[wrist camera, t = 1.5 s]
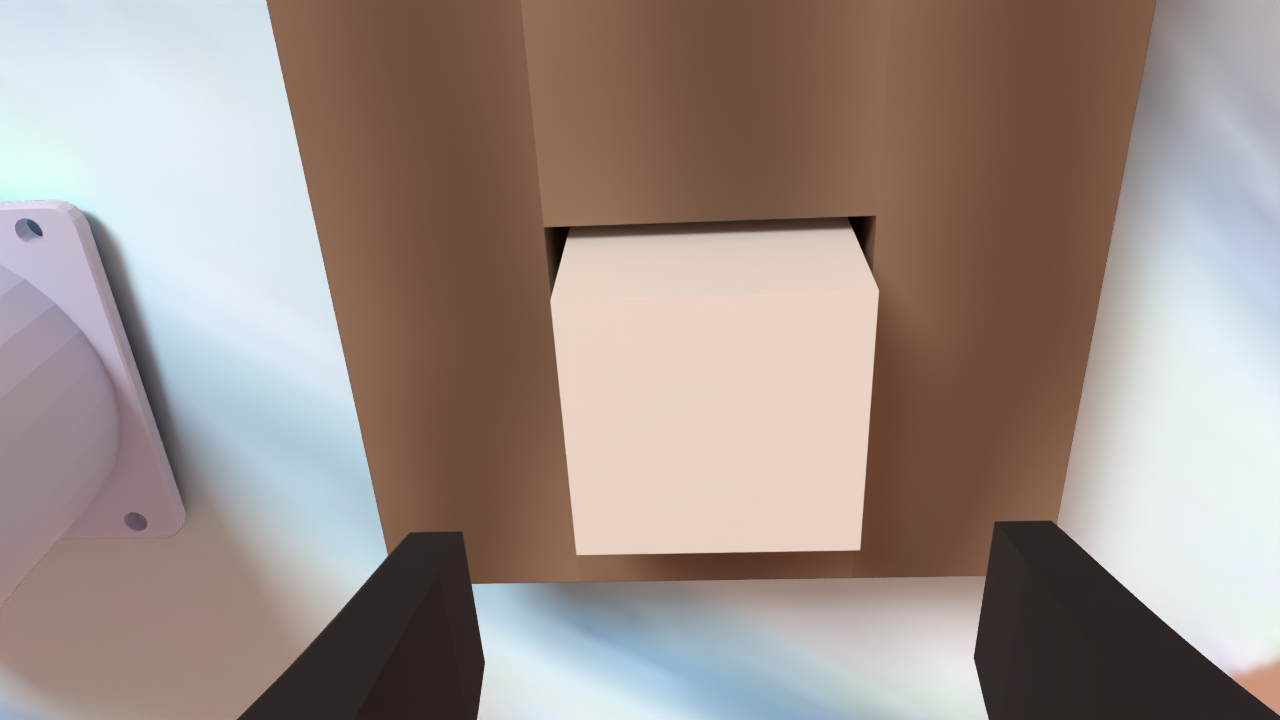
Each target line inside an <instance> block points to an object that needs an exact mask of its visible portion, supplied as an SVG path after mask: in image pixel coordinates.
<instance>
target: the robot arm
mask: <svg viewBox="0 0 1280 720" xmlns="http://www.w3.org/2000/svg"><path fill="white" fill-rule="evenodd" d="M27 219H30V220H33V221H34V222H35V223H37V224H38V225H39V226H40V228H41V230H42V232H43V236H38V235H37V234H35V233H34V232H32V231H31V229H30V228H29V226H28V225H27ZM134 513H139V514H140V515H142V516H143V517H144V518H145V519H146V520H143V519H140V518H139V517H137V516H136V515H135V514H134ZM185 519H186V512H185V509H184V506H183V503H182V500H181V497H180V494H179V491H178V488H177V485H176V482H175V479H174V476H173V473H172V470H171V467H170V464H169V461H168V458H167V455H166V452H165V449H164V446H163V443H162V440H161V437H160V434H159V431H158V428H157V425H156V422H155V419H154V416H153V413H152V410H151V407H150V404H149V401H148V398H147V395H146V393H145V390H144V387H143V384H142V381H141V378H140V375H139V372H138V369H137V366H136V363H135V360H134V357H133V354H132V351H131V348H130V345H129V342H128V339H127V336H126V333H125V330H124V327H123V324H122V321H121V318H120V315H119V312H118V309H117V306H116V303H115V300H114V297H113V294H112V291H111V288H110V285H109V282H108V279H107V276H106V273H105V270H104V267H103V264H102V261H101V258H100V255H99V252H98V249H97V246H96V244H95V241H94V238H93V235H92V232H91V229H90V226H89V223H88V221H87V219H86V217H85V216H84V214H83V213H82V212H81V211H80V210H79V209H78V208H77V207H76V206H74V205H72V204H70V203H68V202H66V201H61V200H33V201H6V202H0V606H1V605H2V604H3V603H4V602H5V601H6V600H7V598H8V597H9V596H10V595H11V594H12V593H13V591H14V590H15V589H16V588H17V587H18V586H19V585H20V583H21V582H22V581H23V580H24V579H25V578H26V576H27V575H28V574H29V573H30V572H31V571H32V569H33V568H34V567H35V566H36V565H37V564H38V563H39V561H40V560H41V559H42V558H43V557H44V556H45V554H46V553H47V552H48V551H49V550H50V549H51V548H52V546H53V545H54V544H55V543H56V542H57V541H58V539H107V538H161V537H169V536H173V535H174V534H176V533H177V532H178V531H179V529H180V528H181V527H182V525H183V524H184V521H185ZM974 660H975V664H976V669H977V673H978V677H979V681H980V686H981V690H982V694H983V698H984V702H985V706H986V710H987V714H988V718H989V720H1280V716H1279V715H1278V714H1276V713H1275V712H1274V711H1272V710H1271V709H1270V708H1269V707H1267V706H1266V705H1265V704H1263V703H1262V702H1261V701H1260V700H1258V699H1257V698H1256V697H1254V696H1253V695H1252V694H1251V693H1249V692H1248V691H1247V690H1245V689H1244V688H1243V687H1242V686H1240V685H1239V684H1238V683H1236V682H1235V681H1234V680H1233V679H1232V678H1230V677H1229V676H1228V675H1227V674H1225V673H1224V672H1223V671H1222V670H1221V669H1219V668H1218V667H1217V666H1216V665H1214V664H1213V663H1212V662H1211V661H1209V660H1208V659H1207V658H1206V657H1205V656H1203V655H1202V654H1201V653H1200V652H1199V651H1198V650H1196V649H1195V648H1194V647H1193V646H1192V645H1190V644H1189V643H1188V642H1187V641H1186V640H1185V639H1183V638H1182V637H1181V636H1180V635H1179V634H1178V633H1176V632H1175V631H1174V630H1173V629H1172V628H1171V627H1169V626H1168V625H1167V624H1166V623H1165V622H1164V621H1162V620H1161V619H1160V618H1159V617H1158V616H1157V615H1156V614H1154V613H1153V612H1152V611H1151V610H1150V609H1149V608H1148V607H1147V606H1145V605H1144V604H1143V603H1142V602H1141V601H1140V600H1139V599H1138V598H1136V597H1135V596H1134V595H1133V594H1132V593H1131V592H1130V591H1129V590H1128V589H1126V588H1125V587H1124V586H1123V585H1122V584H1121V583H1120V582H1119V581H1118V580H1116V579H1115V578H1114V577H1113V576H1112V575H1111V574H1110V573H1109V572H1108V571H1107V570H1105V569H1104V568H1103V567H1102V566H1101V565H1100V564H1099V563H1098V562H1097V561H1096V560H1094V559H1093V558H1092V557H1091V556H1090V555H1089V554H1088V553H1087V552H1086V551H1085V550H1083V549H1082V548H1081V547H1080V546H1079V545H1078V544H1077V543H1076V542H1075V541H1074V540H1072V539H1071V538H1070V537H1069V536H1068V535H1067V534H1066V533H1065V532H1064V531H1062V530H1061V529H1060V528H1059V527H1058V526H1057V525H1056V524H1054V523H1053V522H1052V521H1051V520H1049V521H995V522H994V529H993V535H992V542H991V549H990V555H989V562H988V568H987V575H986V581H985V588H984V594H983V601H982V607H981V614H980V621H979V627H978V634H977V640H976V647H975V653H974ZM484 665H485V661H484V655H483V649H482V644H481V638H480V632H479V626H478V620H477V614H476V608H475V603H474V597H473V591H472V585H471V579H470V573H469V567H468V562H467V556H466V550H465V544H464V538H463V532H462V531H453V532H410V533H409V534H408V535H407V536H406V537H405V538H404V539H403V540H402V541H401V542H400V543H399V544H398V545H397V547H396V548H395V549H394V550H393V551H392V552H391V553H390V555H389V556H388V557H387V558H386V559H385V560H384V562H383V563H382V564H381V565H380V566H379V567H378V568H377V570H376V571H375V572H374V573H373V574H372V575H371V577H370V578H369V579H368V580H367V581H366V582H365V584H364V585H363V586H362V587H361V588H360V589H359V591H358V592H357V593H356V594H355V595H354V596H353V597H352V599H351V600H350V601H349V602H348V603H347V604H346V605H345V607H344V608H343V609H342V610H341V611H340V612H339V613H338V615H337V616H336V617H335V618H334V619H333V620H332V621H331V622H330V623H329V624H328V626H327V627H326V628H325V629H324V630H323V631H322V632H321V633H320V634H319V635H318V636H317V638H316V639H315V640H314V641H313V642H312V643H311V644H310V645H309V646H308V647H307V648H306V650H305V651H304V652H303V653H302V654H301V655H300V656H299V657H298V658H297V659H296V660H295V662H294V663H293V664H292V665H291V666H290V667H289V668H288V669H287V670H286V671H285V672H284V673H283V674H282V675H281V676H280V677H279V678H278V679H277V680H276V681H275V682H274V683H273V684H272V685H271V686H270V687H269V688H268V689H267V690H266V691H265V692H264V693H263V694H262V695H261V696H260V697H259V698H258V699H257V700H256V701H255V702H254V703H253V704H252V705H251V706H250V707H249V708H248V709H247V710H246V711H245V712H244V713H243V714H242V715H241V716H240V717H239V718H238V719H237V720H477V715H478V709H479V702H480V694H481V687H482V680H483V673H484Z"/></svg>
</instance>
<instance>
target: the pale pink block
mask: <svg viewBox="0 0 1280 720" xmlns="http://www.w3.org/2000/svg"><path fill="white" fill-rule="evenodd" d="M878 298H879V289H878V287H877V285H876V282H875V280H874V278H873V275H872V273H871V271H870V268H869V266H868V264H867V261H866V259H865V257H864V254H863V252H862V250H861V247H860V245H859V243H858V240H857V238H856V236H855V233H854V231H853V229H852V226H851V224H850V222H849V220H848V217H821V218H793V219H764V220H736V221H707V222H678V223H650V224H621V225H593V226H570V229H569V232H568V236H567V240H566V244H565V247H564V251H563V255H562V259H561V262H560V266H559V270H558V274H557V277H556V281H555V285H554V289H553V292H552V296H551V300H550V303H551V312H552V322H553V332H554V341H555V351H556V361H557V371H558V380H559V390H560V400H561V410H562V419H563V429H564V439H565V449H566V458H567V468H568V478H569V487H570V497H571V507H572V517H573V526H574V536H575V546H576V555H613V554H672V553H731V552H789V551H848V550H860V546H861V532H862V518H863V504H864V491H865V477H866V463H867V449H868V435H869V422H870V408H871V394H872V380H873V366H874V353H875V339H876V325H877V311H878Z"/></svg>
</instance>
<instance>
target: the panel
mask: <svg viewBox="0 0 1280 720" xmlns="http://www.w3.org/2000/svg"><path fill="white" fill-rule="evenodd" d="M266 1H267V6H268V10H269V15H270V19H271V24H272V29H273V33H274V38H275V42H276V47H277V51H278V56H279V60H280V65H281V70H282V74H283V79H284V83H285V88H286V92H287V97H288V102H289V106H290V111H291V115H292V120H293V124H294V129H295V133H296V138H297V143H298V147H299V152H300V156H301V161H302V165H303V170H304V174H305V179H306V184H307V188H308V193H309V197H310V202H311V206H312V211H313V216H314V220H315V225H316V229H317V234H318V238H319V243H320V247H321V252H322V257H323V261H324V266H325V270H326V275H327V279H328V284H329V288H330V293H331V298H332V302H333V307H334V311H335V316H336V320H337V325H338V329H339V334H340V339H341V343H342V348H343V352H344V357H345V361H346V366H347V371H348V375H349V380H350V384H351V389H352V393H353V398H354V402H355V407H356V412H357V416H358V421H359V425H360V430H361V434H362V439H363V443H364V448H365V453H366V457H367V462H368V466H369V471H370V475H371V480H372V485H373V489H374V494H375V498H376V503H377V507H378V512H379V516H380V521H381V526H382V530H383V535H384V539H385V544H386V548H387V553H388V556H389V555H390V553H391V552H392V551H393V550H394V549H395V548H396V547H397V545H398V544H399V543H400V542H401V541H402V540H403V539H404V538H405V537H406V536H407V535H408V534H409V533H410V532H453V531H462V532H463V538H464V544H465V550H466V556H467V562H468V567H469V573H470V579H471V584H491V583H555V582H619V581H683V580H747V579H811V578H876V577H940V576H986V575H987V568H988V562H989V555H990V549H991V542H992V535H993V529H994V522H995V521H1049V520H1051V521H1052V522H1053V523H1054V524H1057V519H1058V514H1059V508H1060V503H1061V498H1062V493H1063V487H1064V482H1065V477H1066V472H1067V466H1068V461H1069V456H1070V451H1071V445H1072V440H1073V435H1074V430H1075V424H1076V419H1077V414H1078V409H1079V403H1080V398H1081V393H1082V388H1083V382H1084V377H1085V372H1086V367H1087V361H1088V356H1089V351H1090V346H1091V340H1092V335H1093V330H1094V325H1095V319H1096V314H1097V309H1098V304H1099V298H1100V293H1101V288H1102V283H1103V277H1104V272H1105V267H1106V262H1107V256H1108V251H1109V246H1110V241H1111V235H1112V230H1113V225H1114V220H1115V214H1116V209H1117V204H1118V199H1119V193H1120V188H1121V183H1122V178H1123V172H1124V167H1125V162H1126V157H1127V151H1128V146H1129V141H1130V136H1131V130H1132V125H1133V120H1134V115H1135V109H1136V104H1137V99H1138V94H1139V88H1140V83H1141V78H1142V73H1143V68H1144V62H1145V57H1146V52H1147V47H1148V41H1149V36H1150V31H1151V26H1152V20H1153V15H1154V10H1155V5H1156V0H266ZM821 217H848V220H849V222H850V224H851V226H852V229H853V231H854V233H855V236H856V238H857V240H858V243H859V245H860V247H861V250H862V252H863V254H864V257H865V259H866V261H867V264H868V266H869V268H870V271H871V273H872V275H873V278H874V280H875V282H876V285H877V287H878V289H879V298H878V311H877V325H876V339H875V353H874V366H873V380H872V394H871V408H870V422H869V435H868V449H867V463H866V477H865V491H864V504H863V518H862V532H861V546H860V550H848V551H789V552H731V553H672V554H613V555H576V546H575V536H574V526H573V517H572V507H571V497H570V487H569V478H568V468H567V458H566V449H565V439H564V429H563V419H562V410H561V400H560V390H559V380H558V371H557V361H556V351H555V341H554V332H553V322H552V312H551V303H550V300H551V296H552V292H553V289H554V285H555V281H556V277H557V274H558V270H559V266H560V262H561V259H562V255H563V251H564V247H565V244H566V240H567V236H568V232H569V229H570V226H593V225H621V224H650V223H678V222H707V221H736V220H764V219H793V218H821Z"/></svg>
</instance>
